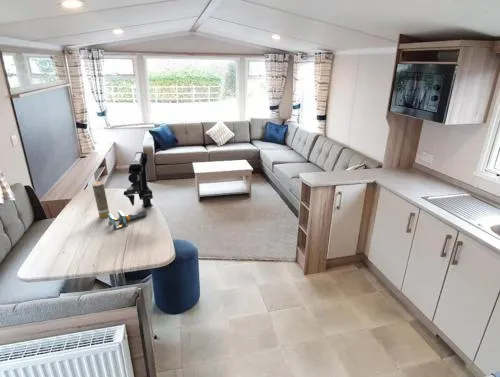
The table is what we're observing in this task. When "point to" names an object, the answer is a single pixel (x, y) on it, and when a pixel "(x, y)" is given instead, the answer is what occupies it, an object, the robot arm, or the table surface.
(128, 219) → the tube
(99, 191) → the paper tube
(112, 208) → the table surface
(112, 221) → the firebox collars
